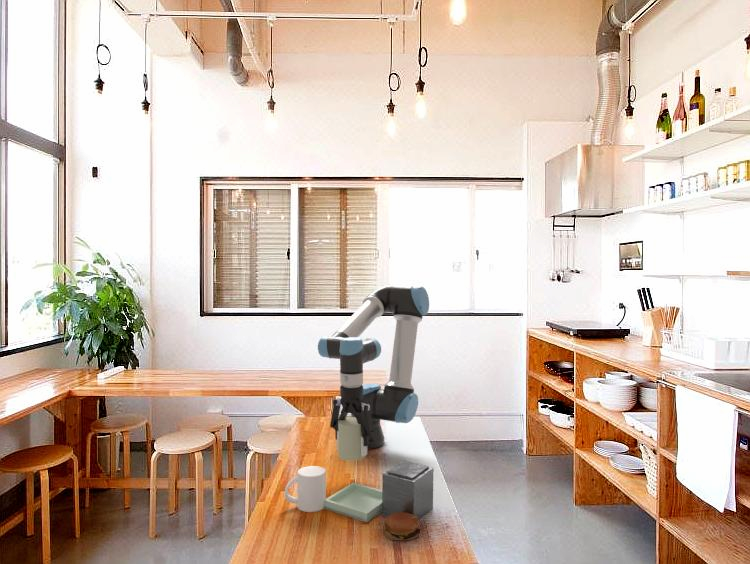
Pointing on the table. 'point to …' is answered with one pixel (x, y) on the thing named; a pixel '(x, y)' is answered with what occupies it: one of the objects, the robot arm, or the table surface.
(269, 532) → the table surface
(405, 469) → the unit
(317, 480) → the mug
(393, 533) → the burger
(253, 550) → the table surface
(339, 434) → the can
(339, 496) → the tray
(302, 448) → the table surface
